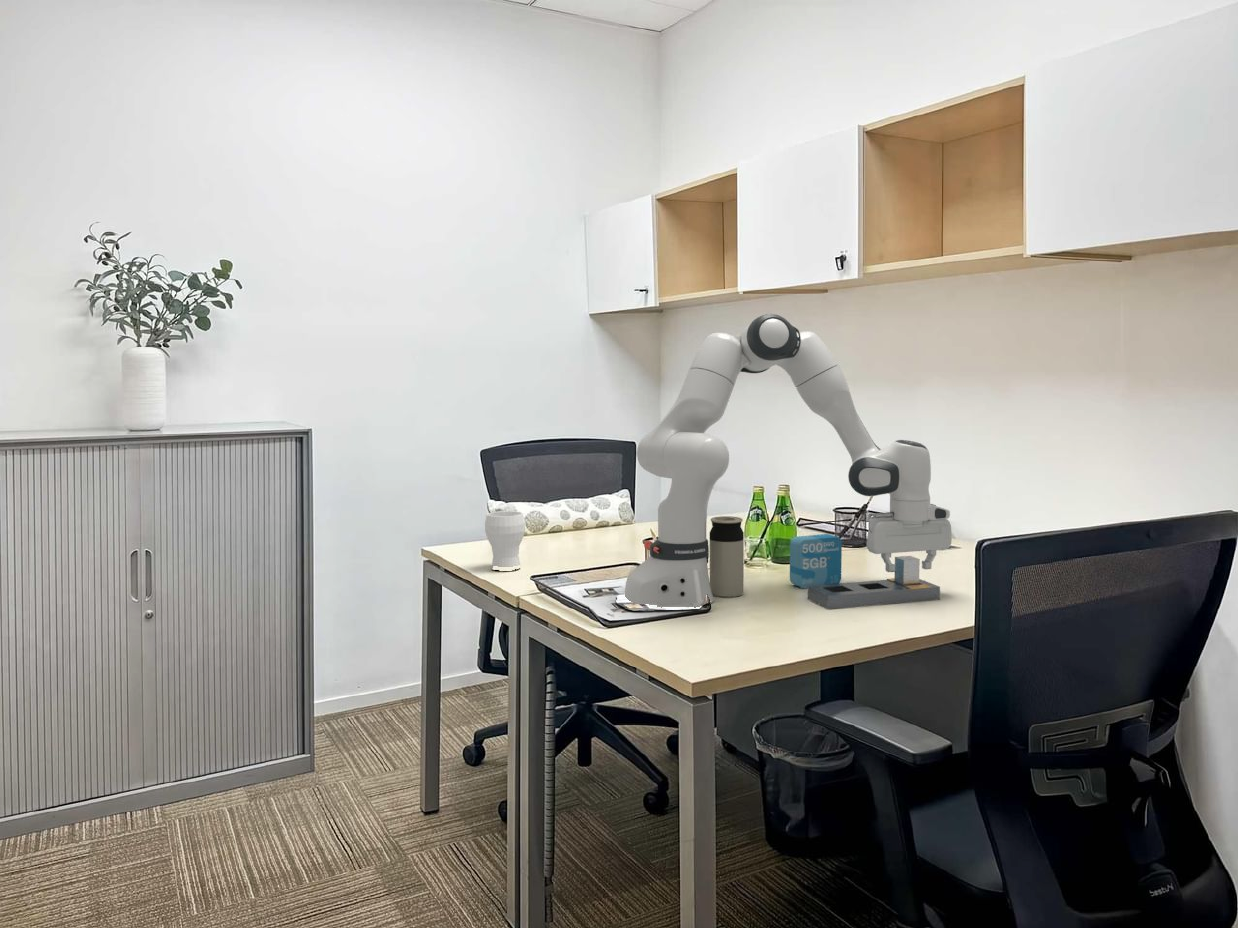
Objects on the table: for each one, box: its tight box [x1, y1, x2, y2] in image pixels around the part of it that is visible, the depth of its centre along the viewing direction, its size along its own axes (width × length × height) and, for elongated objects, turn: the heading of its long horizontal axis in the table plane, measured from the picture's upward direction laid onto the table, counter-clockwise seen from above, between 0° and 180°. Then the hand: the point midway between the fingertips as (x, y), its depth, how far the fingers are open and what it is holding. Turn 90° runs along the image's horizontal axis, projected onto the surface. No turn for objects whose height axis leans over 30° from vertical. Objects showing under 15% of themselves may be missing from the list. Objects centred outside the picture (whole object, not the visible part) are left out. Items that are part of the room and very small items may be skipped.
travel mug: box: [709, 515, 745, 598], centre depth 223 cm, size 8×8×18 cm
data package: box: [789, 533, 843, 589], centre depth 231 cm, size 12×4×12 cm, turn 110°
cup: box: [484, 510, 526, 567], centre depth 254 cm, size 11×11×15 cm
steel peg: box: [893, 555, 921, 587], centre depth 219 cm, size 4×4×9 cm
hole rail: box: [807, 577, 941, 610], centre depth 217 cm, size 28×10×3 cm, turn 105°
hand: (908, 570), depth 219 cm, fingers open, 8 cm apart
